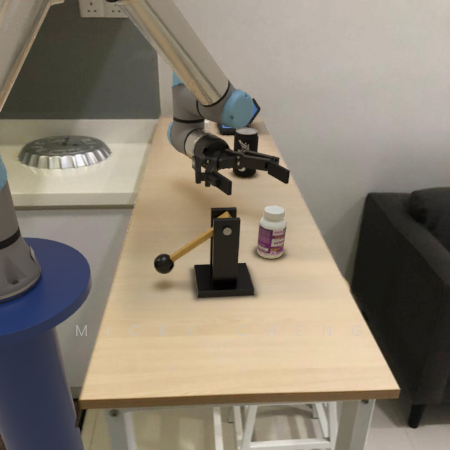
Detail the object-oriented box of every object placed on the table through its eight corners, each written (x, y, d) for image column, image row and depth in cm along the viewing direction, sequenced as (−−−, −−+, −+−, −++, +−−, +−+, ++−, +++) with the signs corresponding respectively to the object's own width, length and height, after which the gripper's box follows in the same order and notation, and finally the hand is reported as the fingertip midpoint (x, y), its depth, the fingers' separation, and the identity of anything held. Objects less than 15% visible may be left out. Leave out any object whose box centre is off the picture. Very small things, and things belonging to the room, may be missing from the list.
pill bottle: (273, 262, 92) (278, 218, 86) (251, 253, 95) (255, 209, 89) (287, 252, 96) (293, 208, 90) (266, 243, 98) (270, 201, 92)
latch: (162, 281, 82) (149, 267, 80) (162, 270, 85) (149, 257, 83) (239, 231, 78) (227, 215, 76) (235, 221, 81) (224, 206, 79)
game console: (216, 122, 172) (216, 96, 167) (252, 123, 174) (254, 97, 168) (219, 135, 160) (220, 107, 154) (259, 135, 161) (261, 108, 156)
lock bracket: (197, 297, 81) (197, 226, 73) (193, 270, 89) (193, 203, 81) (253, 294, 83) (259, 224, 75) (245, 268, 90) (250, 201, 82)
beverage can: (229, 176, 129) (231, 132, 122) (236, 168, 134) (238, 125, 127) (252, 179, 127) (255, 135, 120) (258, 171, 132) (261, 128, 125)
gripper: (252, 159, 113) (307, 190, 99) (158, 175, 103) (203, 212, 88) (255, 127, 109) (312, 155, 94) (156, 140, 98) (204, 174, 84)
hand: (260, 182), depth 91 cm, fingers open, 13 cm apart
